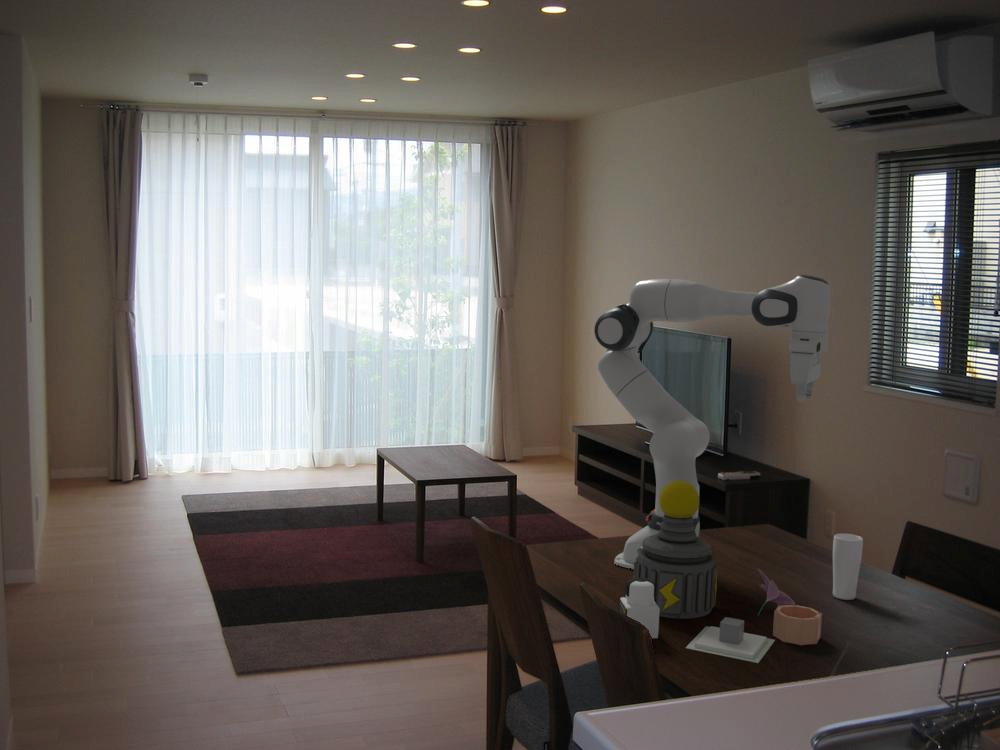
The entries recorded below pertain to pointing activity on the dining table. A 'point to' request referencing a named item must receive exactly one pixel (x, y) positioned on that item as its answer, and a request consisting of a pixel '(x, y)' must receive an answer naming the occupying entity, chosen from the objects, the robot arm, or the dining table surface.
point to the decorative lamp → (679, 558)
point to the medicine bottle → (641, 604)
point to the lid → (731, 639)
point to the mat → (755, 659)
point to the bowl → (797, 624)
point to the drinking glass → (846, 565)
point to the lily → (774, 593)
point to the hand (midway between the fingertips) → (804, 400)
